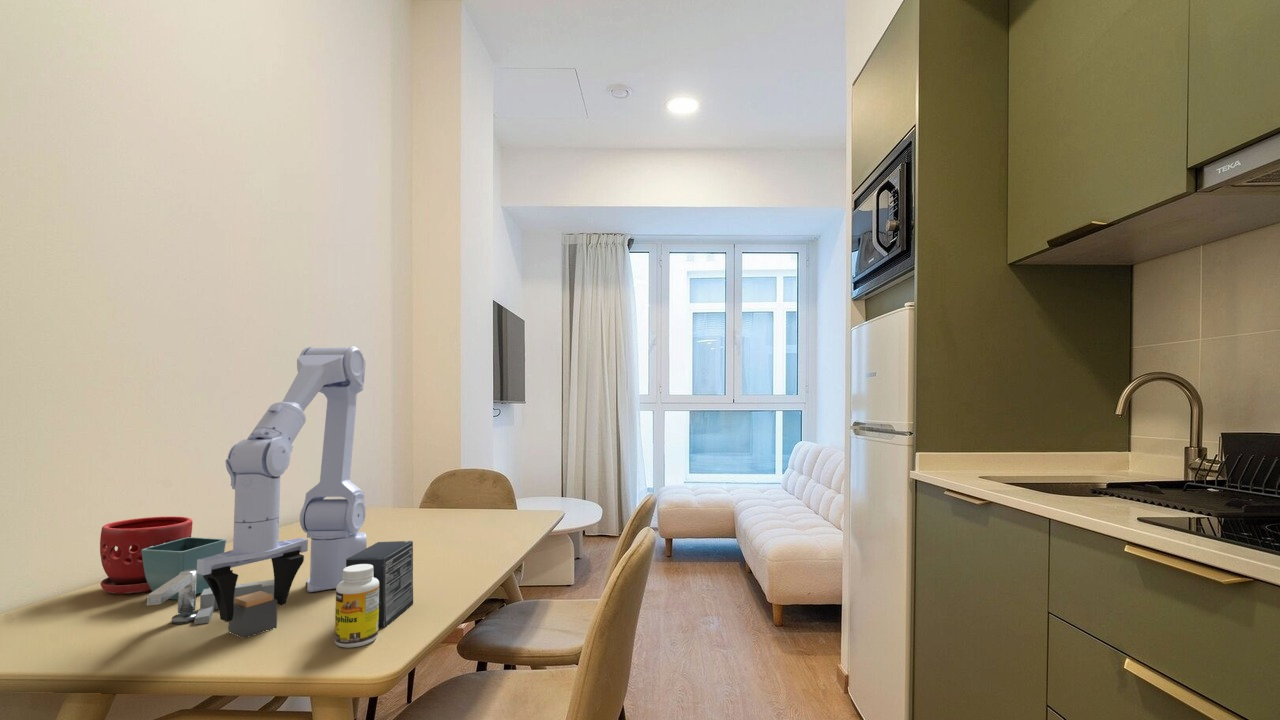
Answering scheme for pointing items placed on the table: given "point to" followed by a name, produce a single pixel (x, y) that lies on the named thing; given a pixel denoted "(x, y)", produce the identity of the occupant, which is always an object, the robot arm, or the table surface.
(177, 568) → the flower pot
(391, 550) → the small box
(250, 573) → the table surface
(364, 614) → the supplement bottle
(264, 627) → the orange and grey block
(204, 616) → the socket
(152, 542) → the plant pot
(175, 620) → the door handle base
